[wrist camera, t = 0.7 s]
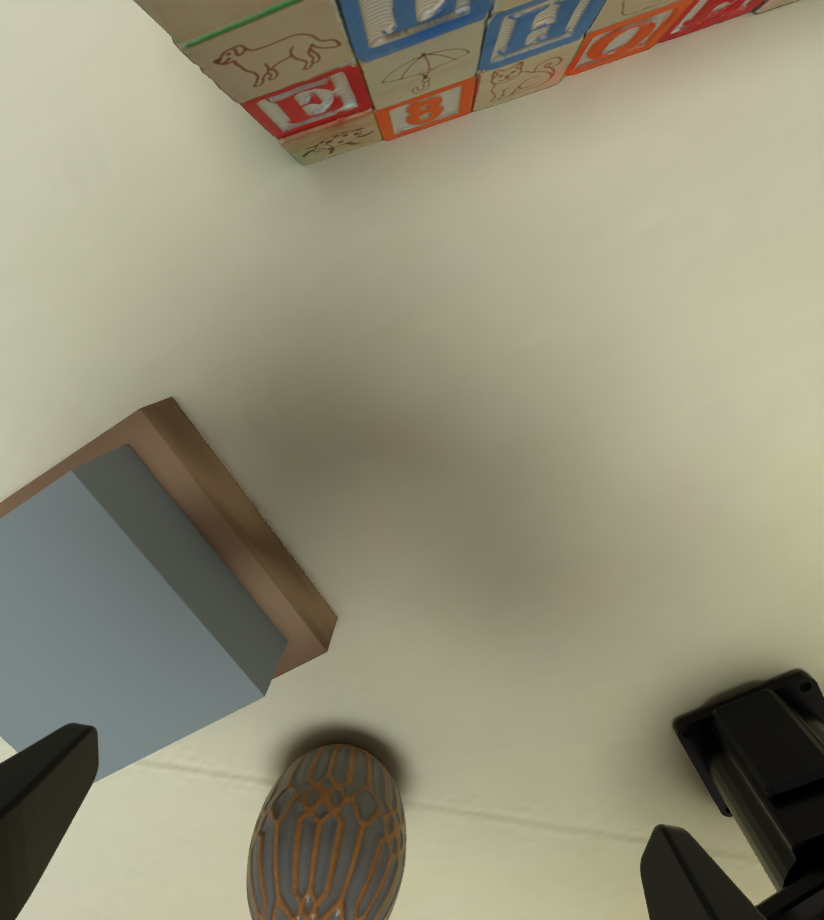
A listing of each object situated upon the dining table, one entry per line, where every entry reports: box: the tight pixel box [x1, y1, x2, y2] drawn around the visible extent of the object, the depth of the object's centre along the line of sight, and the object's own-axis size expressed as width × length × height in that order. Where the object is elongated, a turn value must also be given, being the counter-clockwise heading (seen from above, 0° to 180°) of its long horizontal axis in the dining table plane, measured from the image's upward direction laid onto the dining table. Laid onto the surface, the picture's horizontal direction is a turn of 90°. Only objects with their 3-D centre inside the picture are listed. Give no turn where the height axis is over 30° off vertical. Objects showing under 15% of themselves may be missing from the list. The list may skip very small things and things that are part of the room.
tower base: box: [0, 397, 337, 679], centre depth 22 cm, size 12×12×3 cm
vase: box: [247, 744, 406, 920], centre depth 22 cm, size 7×7×9 cm
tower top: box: [0, 444, 288, 783], centre depth 19 cm, size 10×10×3 cm
